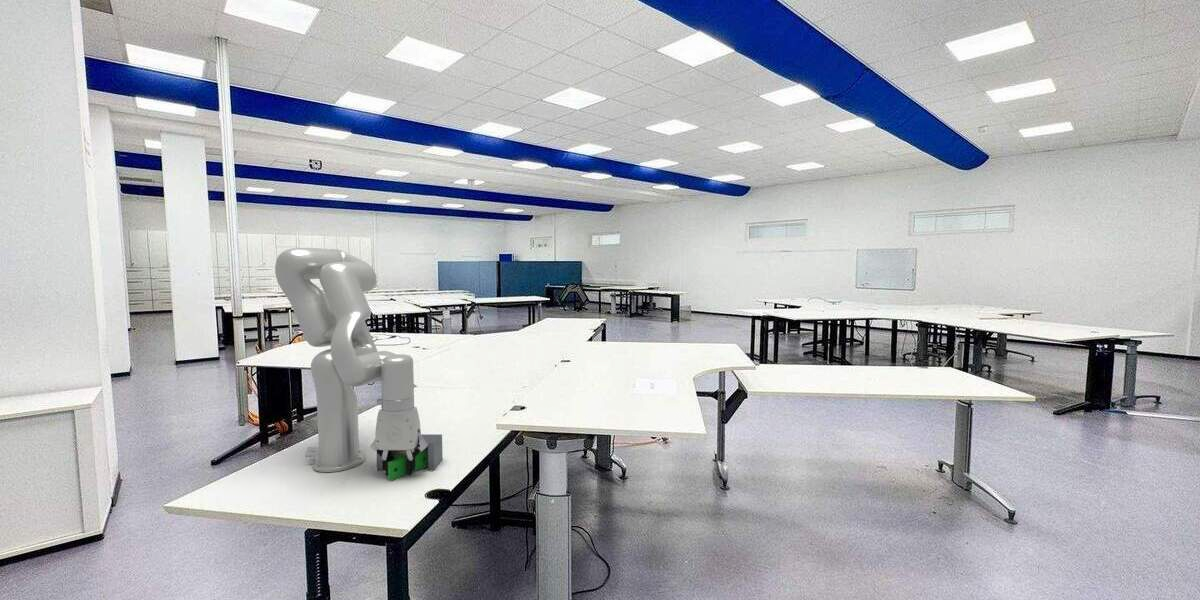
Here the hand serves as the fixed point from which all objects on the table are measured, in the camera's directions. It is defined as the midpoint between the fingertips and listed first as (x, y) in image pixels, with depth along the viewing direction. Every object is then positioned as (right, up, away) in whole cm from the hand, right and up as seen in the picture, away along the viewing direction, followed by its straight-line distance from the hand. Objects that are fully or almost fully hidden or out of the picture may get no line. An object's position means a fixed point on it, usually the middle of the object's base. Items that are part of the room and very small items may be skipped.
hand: (399, 472), depth 118 cm
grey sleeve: (0, 0, +6) cm, 6 cm away
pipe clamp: (+1, -1, +3) cm, 3 cm away
